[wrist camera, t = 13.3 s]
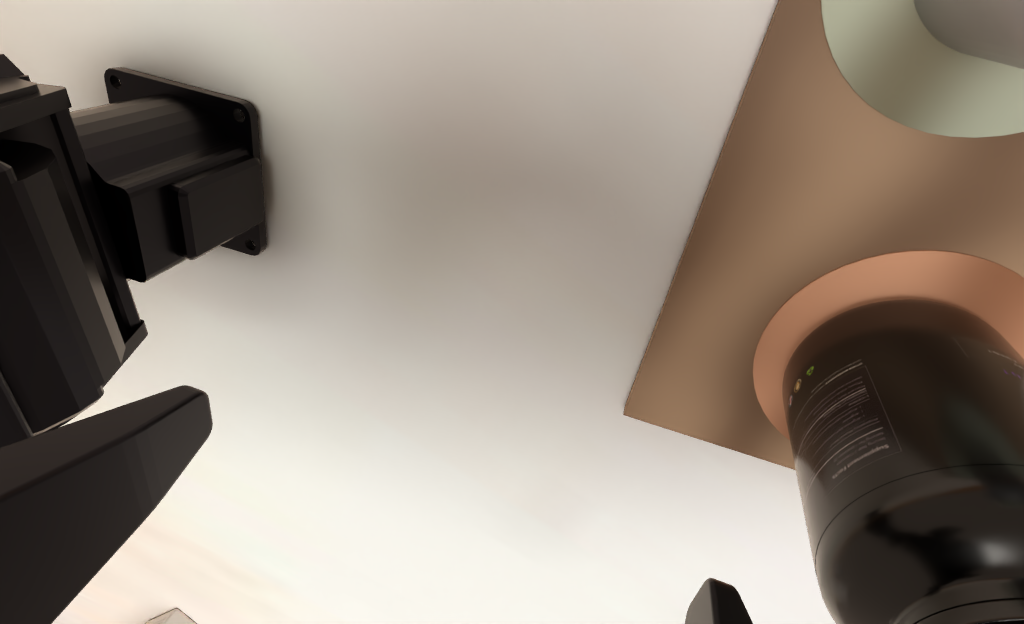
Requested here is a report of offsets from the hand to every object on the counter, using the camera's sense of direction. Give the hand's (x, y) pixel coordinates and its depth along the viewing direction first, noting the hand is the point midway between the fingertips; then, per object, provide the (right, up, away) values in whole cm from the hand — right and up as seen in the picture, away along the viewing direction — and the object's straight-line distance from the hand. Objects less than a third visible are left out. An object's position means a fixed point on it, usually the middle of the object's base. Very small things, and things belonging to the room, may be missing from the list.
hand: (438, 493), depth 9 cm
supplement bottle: (+14, +1, +10) cm, 17 cm away
